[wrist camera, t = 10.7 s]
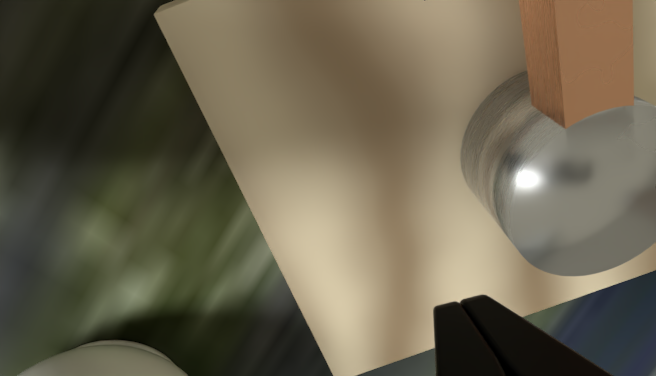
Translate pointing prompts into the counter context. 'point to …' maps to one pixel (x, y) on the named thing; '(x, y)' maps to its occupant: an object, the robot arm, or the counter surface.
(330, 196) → the coupling base
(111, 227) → the counter surface
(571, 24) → the handle
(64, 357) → the lidded jar
